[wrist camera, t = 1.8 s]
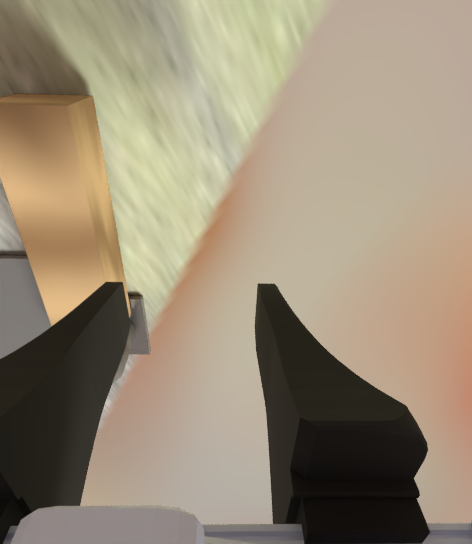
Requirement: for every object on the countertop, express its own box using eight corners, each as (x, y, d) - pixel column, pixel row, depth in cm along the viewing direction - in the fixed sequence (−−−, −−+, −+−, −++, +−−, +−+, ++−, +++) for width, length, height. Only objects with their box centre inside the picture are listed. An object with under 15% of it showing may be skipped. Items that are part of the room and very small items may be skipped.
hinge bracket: (150, 350, 26) (149, 354, 26) (82, 349, 26) (80, 353, 26) (142, 296, 23) (141, 299, 23) (66, 295, 23) (63, 298, 23)
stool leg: (138, 349, 25) (127, 384, 23) (87, 348, 25) (70, 384, 23) (94, 95, 16) (68, 106, 14) (14, 93, 16) (-27, 103, 14)
